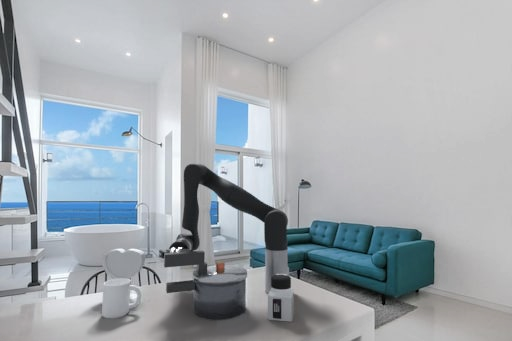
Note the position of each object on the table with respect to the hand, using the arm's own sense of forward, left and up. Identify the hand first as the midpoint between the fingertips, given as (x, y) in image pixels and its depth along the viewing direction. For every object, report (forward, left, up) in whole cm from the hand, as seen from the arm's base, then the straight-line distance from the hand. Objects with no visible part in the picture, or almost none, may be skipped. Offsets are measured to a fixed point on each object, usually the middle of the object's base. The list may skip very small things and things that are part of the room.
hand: (170, 258), depth 96 cm
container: (-27, +25, -18) cm, 41 cm away
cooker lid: (-11, +6, -7) cm, 14 cm away
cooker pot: (-11, +6, -18) cm, 22 cm away
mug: (+12, -11, -18) cm, 24 cm away
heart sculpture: (+7, -28, -18) cm, 34 cm away
